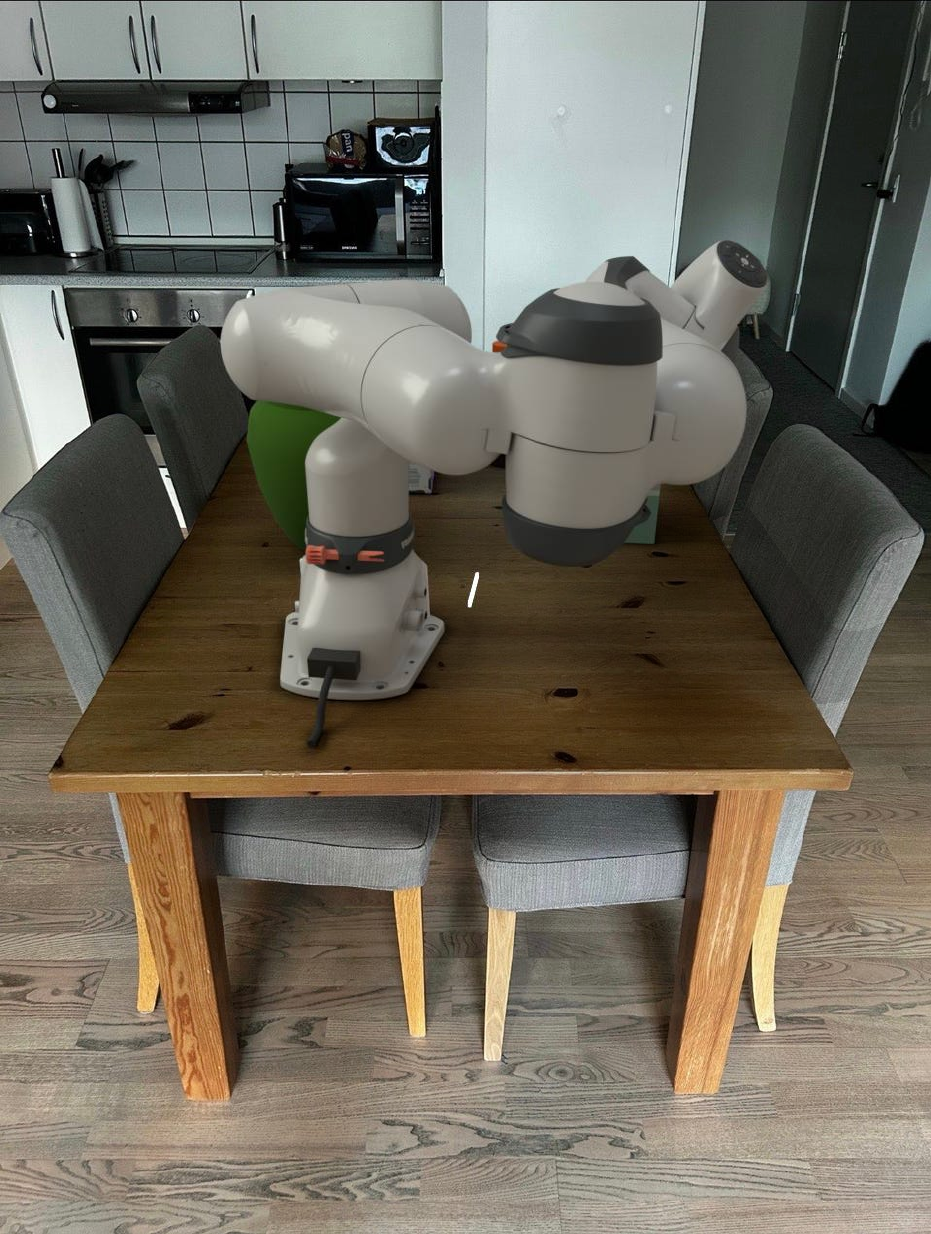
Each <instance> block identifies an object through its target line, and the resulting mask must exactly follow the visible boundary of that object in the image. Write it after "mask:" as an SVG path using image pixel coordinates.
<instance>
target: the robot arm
mask: <svg viewBox="0 0 931 1234" xmlns="http://www.w3.org/2000/svg"><path fill="white" fill-rule="evenodd" d="M768 282H769V277H768V274H767V270H766V268H765V267H764V265H763V263H762V262H761V260H760V259H759V258H758V257H757V256H756V255H754V253H752V252H751V251H750V250H749V249H748V248H746V247H745V246H743V245H742V244H741V243H739V242H735V241H733V240H728V239H723V240H719V241H717V242H715V243H714V244H713V245H711V246H710V247H708V248H707V249H706V250H704V252H702V253H701V254H700V255H699V256H698V257H697V258H695V260H694V261H692V262H691V263H690V264H689V265H688V266H687V267H686V268H685V269H684V270H683V271H682V272H681V273H680V274H679V276H678V277H677V278H676V279H675V281H674V282H673V283H672V284H671V286H669V285H667V284H666V283H665V282H664V281H662V279H660V278H658V277H657V276H656V275H654V274H653V272H651V270H650V269H649V268H647V266H645V264H643V263H642V262H641V261H640V260H638V258H637V257H635V256H634V255H626V256H617V257H611V258H608V259H606V260H605V261H604V262H603V263H601V264H600V265H599V266H597V267H596V268H595V269H594V270H593V271H592V272H591V274H590V275H589V276H588V277H587V278H586V279H585V281H583V282H577V283H576V282H575V283H573V284H569V285H566V286H563V287H557V288H551V289H550V290H547V291H546V292H544V293H543V294H541V295H539V296H538V297H536V298H535V299H534V300H532V301H531V302H529V303H528V304H527V305H526V306H525V307H524V308H523V310H522V311H521V312H520V313H519V315H518V316H517V317H516V319H515V320H514V322H510V323H505V324H503V325H502V326H500V327H499V329H498V331H497V333H496V335H495V338H496V341H499V342H501V343H503V344H507V346H506V347H505V348H504V350H502V351H501V353H495V352H492V351H487V350H484V349H481V348H479V347H477V346H475V345H473V344H472V341H473V331H472V330H473V329H472V323H471V317H470V316H469V315H470V314H469V313H468V309H467V307H466V305H465V304H464V302H463V301H462V299H461V298H460V296H459V295H458V293H456V292H455V291H454V289H452V288H451V287H449V285H444V284H439V283H433V282H427V281H421V280H412V279H395V280H377V281H367V282H356V283H355V282H352V283H350V282H349V283H340V284H325V285H311V286H296V287H283V288H278V289H275V290H274V289H273V290H271V291H266V292H263V293H259V294H255V295H252V296H249V297H246V298H243V299H239V300H237V301H235V302H234V304H233V305H232V307H231V308H230V310H229V312H228V313H227V315H226V317H225V318H224V322H223V325H222V329H221V333H220V352H221V358H222V361H223V362H222V363H223V365H224V367H225V370H226V372H227V374H228V376H229V378H230V380H231V381H232V382H233V384H234V385H235V386H236V387H237V389H238V390H239V391H240V392H242V394H244V395H245V396H246V397H247V398H248V399H250V400H253V401H257V400H259V401H268V402H277V403H285V404H291V405H297V406H302V407H306V408H309V409H313V410H317V411H320V412H324V413H327V414H331V415H334V416H338V417H341V419H340V420H339V421H337V422H336V423H335V424H334V425H332V426H331V427H329V428H328V429H326V430H325V431H323V432H322V433H321V434H319V435H318V436H317V437H316V439H315V440H314V441H313V443H312V444H311V446H310V448H309V450H308V453H307V455H306V459H305V469H306V482H307V495H308V508H309V515H308V517H307V519H306V530H305V542H306V552H305V554H304V555H303V556H302V557H301V558H300V559H299V568H300V584H299V585H300V586H299V600H295V601H294V603H293V611H294V612H291V613H289V614H288V615H287V616H286V617H285V625H284V636H283V645H282V646H283V648H282V655H281V665H280V675H279V676H280V677H279V678H280V679H279V684H280V687H281V688H282V689H284V690H286V691H288V692H291V693H294V694H296V695H300V696H306V697H311V698H318V700H317V705H316V716H315V723H314V727H313V731H312V732H311V734H310V736H309V738H308V740H307V742H306V746H308V747H309V748H314V747H315V746H316V744H317V742H318V740H319V739H320V736H321V735H322V732H323V730H324V729H323V728H324V725H325V717H326V708H327V701H328V700H339V701H342V700H343V701H370V700H381V699H389V698H394V697H398V696H402V695H405V694H407V693H408V692H409V691H410V690H411V688H412V686H413V685H414V683H415V681H416V679H418V676H419V675H420V673H421V671H422V670H423V668H424V666H425V665H426V663H427V662H428V660H429V658H430V657H431V655H432V653H433V651H434V650H435V648H436V647H437V645H438V643H439V642H440V640H441V638H442V636H443V635H444V633H445V622H444V621H443V619H440V618H438V617H437V616H434V615H432V614H431V612H430V610H431V608H430V593H429V575H428V565H427V563H425V561H424V560H422V559H421V558H420V557H419V556H418V554H417V552H415V550H414V546H415V544H414V543H415V538H414V537H415V525H414V519H413V514H412V512H410V507H409V505H410V503H409V502H410V500H409V499H410V497H409V496H410V495H409V494H410V493H409V469H410V461H411V462H413V463H415V464H417V465H419V466H422V467H424V468H426V469H429V470H432V471H434V473H439V474H441V475H449V476H464V475H470V474H473V473H476V472H478V471H481V470H483V469H484V468H486V467H488V466H489V465H491V464H490V463H492V462H493V461H494V460H495V459H496V458H497V457H498V456H499V455H500V454H501V453H502V454H506V467H505V494H504V495H503V497H502V498H501V509H502V511H501V512H502V519H503V526H504V532H505V534H506V538H507V540H508V542H509V543H510V544H511V546H512V547H514V548H515V549H516V550H518V551H519V552H520V553H521V554H523V555H524V556H525V557H527V558H529V559H531V560H533V561H536V562H539V563H542V564H546V565H549V566H556V567H563V568H564V567H565V568H582V567H589V566H593V565H596V564H599V563H600V562H602V561H604V560H605V559H607V558H608V557H609V556H611V555H612V554H614V553H616V551H618V550H619V549H620V548H621V547H622V546H623V545H624V544H625V543H624V542H625V540H626V539H627V538H628V536H629V535H630V533H631V532H632V530H633V529H634V527H635V526H637V525H639V524H641V523H644V522H646V521H647V520H648V518H649V517H650V515H651V511H650V509H649V508H648V507H647V506H646V505H645V504H646V502H647V500H648V498H647V495H648V494H649V492H650V490H651V489H652V488H653V487H654V486H656V485H658V484H661V485H670V486H688V485H694V484H698V483H701V482H703V481H707V480H708V479H710V478H712V477H714V476H715V475H717V474H718V473H719V472H721V471H722V470H723V469H724V468H725V467H726V466H727V465H728V464H729V463H730V461H732V459H733V457H734V455H735V454H736V452H737V450H738V449H739V446H740V444H741V442H742V439H743V436H744V433H745V429H746V422H747V414H748V413H747V411H748V406H747V405H748V404H747V395H746V391H745V387H744V383H743V380H742V377H741V375H740V372H739V370H738V369H737V367H736V365H735V364H734V362H735V361H736V359H737V356H738V353H739V348H740V326H738V325H739V323H740V322H741V321H742V320H743V319H744V318H745V316H746V315H748V313H749V312H750V311H751V309H752V308H753V307H754V306H755V304H756V303H757V302H758V300H759V299H760V297H761V296H762V295H763V293H764V292H765V290H766V288H767V286H768ZM479 573H480V572H475V575H474V579H473V583H472V585H471V586H472V587H471V591H470V593H469V597H468V600H467V601H468V602H467V608H472V604H473V600H474V598H475V593H476V589H477V585H478V581H479Z"/></svg>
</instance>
